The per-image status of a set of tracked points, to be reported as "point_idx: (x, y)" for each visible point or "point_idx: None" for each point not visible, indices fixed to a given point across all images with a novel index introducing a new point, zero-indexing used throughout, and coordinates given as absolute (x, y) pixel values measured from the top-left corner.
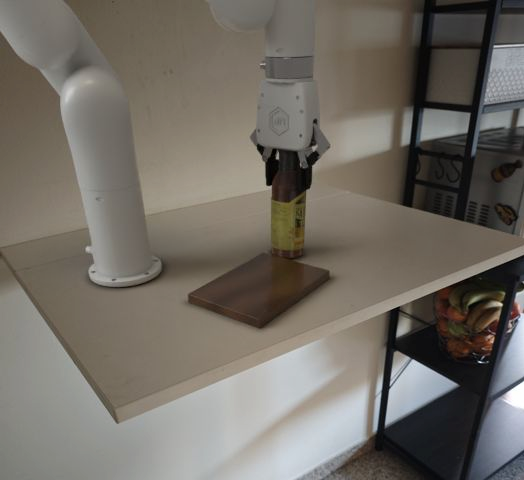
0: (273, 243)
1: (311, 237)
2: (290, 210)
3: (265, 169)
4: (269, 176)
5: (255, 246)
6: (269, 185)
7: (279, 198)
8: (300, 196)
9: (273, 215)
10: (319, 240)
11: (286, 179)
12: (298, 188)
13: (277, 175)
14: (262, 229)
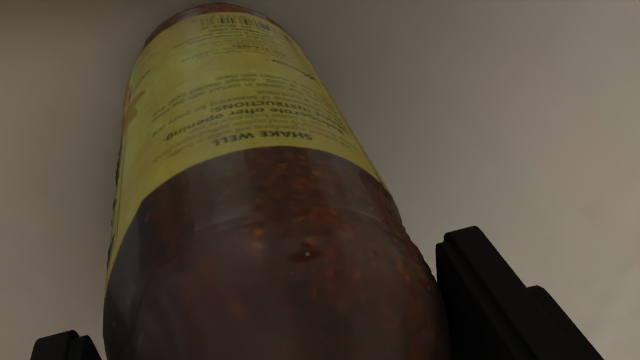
0: (245, 20)
1: None
2: (135, 173)
3: (592, 351)
4: (478, 300)
5: (415, 34)
6: (444, 243)
7: (235, 174)
8: (104, 319)
9: (277, 88)
10: None
11: (204, 356)
12: (62, 351)
13: (369, 350)
14: (518, 193)
